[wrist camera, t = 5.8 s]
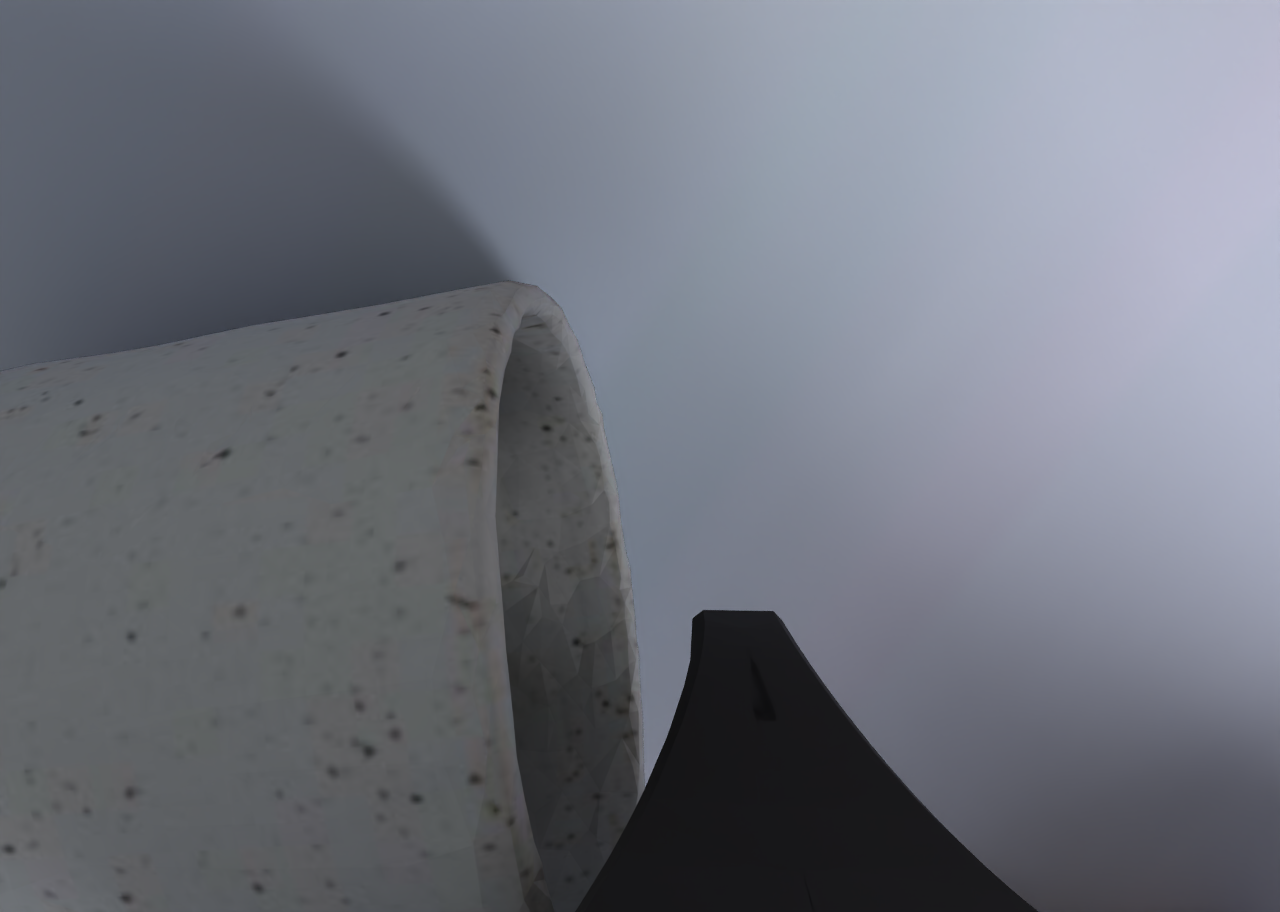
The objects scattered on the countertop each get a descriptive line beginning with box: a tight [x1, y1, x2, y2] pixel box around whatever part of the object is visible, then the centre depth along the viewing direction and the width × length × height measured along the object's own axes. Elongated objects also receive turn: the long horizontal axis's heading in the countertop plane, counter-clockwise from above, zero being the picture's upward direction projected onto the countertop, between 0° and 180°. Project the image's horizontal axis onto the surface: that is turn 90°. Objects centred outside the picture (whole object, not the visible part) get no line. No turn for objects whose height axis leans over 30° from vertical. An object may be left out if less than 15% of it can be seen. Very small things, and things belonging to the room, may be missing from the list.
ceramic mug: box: [0, 280, 645, 912], centre depth 12 cm, size 11×8×8 cm
